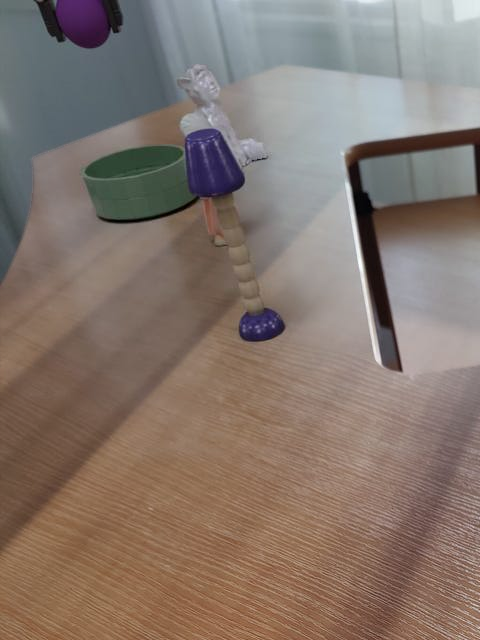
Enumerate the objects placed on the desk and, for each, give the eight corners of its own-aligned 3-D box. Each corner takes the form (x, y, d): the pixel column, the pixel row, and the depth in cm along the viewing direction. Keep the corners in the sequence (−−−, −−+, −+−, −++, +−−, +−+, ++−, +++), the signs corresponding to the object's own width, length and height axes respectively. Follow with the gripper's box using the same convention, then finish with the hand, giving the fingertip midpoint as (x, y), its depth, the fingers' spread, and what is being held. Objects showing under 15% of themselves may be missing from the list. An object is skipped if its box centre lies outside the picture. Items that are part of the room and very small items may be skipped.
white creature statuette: (236, 179, 114) (207, 74, 106) (181, 179, 117) (149, 76, 109) (271, 156, 121) (246, 54, 112) (218, 156, 123) (189, 56, 115)
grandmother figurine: (214, 230, 102) (177, 106, 93) (247, 225, 102) (213, 101, 93) (207, 255, 96) (166, 126, 87) (241, 250, 96) (204, 121, 87)
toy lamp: (288, 337, 80) (234, 134, 68) (237, 348, 79) (174, 146, 67) (281, 316, 83) (229, 119, 71) (233, 327, 82) (172, 130, 70)
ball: (65, 57, 96) (42, -5, 92) (72, 47, 100) (50, -13, 96) (116, 48, 97) (96, -14, 93) (121, 39, 100) (101, -21, 97)
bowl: (91, 231, 106) (73, 187, 102) (102, 196, 115) (86, 155, 112) (199, 212, 107) (186, 167, 103) (201, 179, 116) (189, 138, 113)
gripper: (96, -180, 89) (156, 20, 101) (-48, -159, 88) (30, 40, 100) (87, -178, 84) (152, 32, 95) (-66, -157, 82) (19, 54, 94)
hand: (89, 35), depth 97 cm, fingers closed on ball, 5 cm apart
